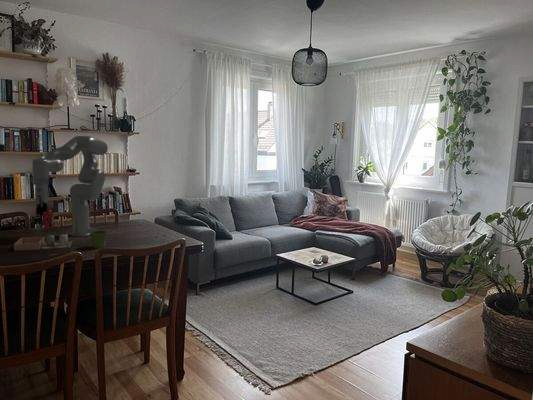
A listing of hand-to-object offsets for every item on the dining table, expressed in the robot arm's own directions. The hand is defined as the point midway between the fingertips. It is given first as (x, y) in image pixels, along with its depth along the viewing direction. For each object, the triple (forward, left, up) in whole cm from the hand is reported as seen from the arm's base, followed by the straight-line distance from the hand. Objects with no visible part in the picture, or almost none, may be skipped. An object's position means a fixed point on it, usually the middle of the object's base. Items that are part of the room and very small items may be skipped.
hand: (42, 213), depth 219 cm
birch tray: (-7, +3, -18) cm, 20 cm away
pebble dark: (-4, +3, -18) cm, 18 cm away
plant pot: (-29, +10, -18) cm, 36 cm away
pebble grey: (-11, +3, -18) cm, 21 cm away
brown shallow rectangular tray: (+6, +3, -18) cm, 19 cm away
